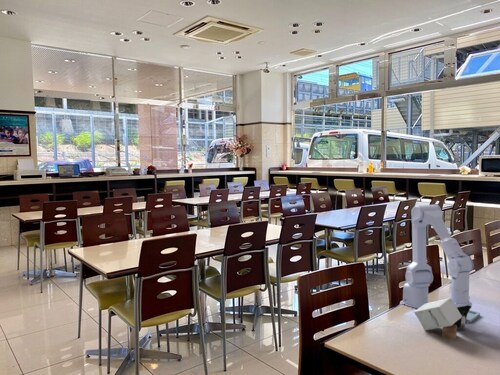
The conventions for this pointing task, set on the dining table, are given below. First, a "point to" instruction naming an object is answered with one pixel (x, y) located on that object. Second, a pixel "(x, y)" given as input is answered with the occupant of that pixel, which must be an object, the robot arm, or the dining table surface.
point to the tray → (472, 316)
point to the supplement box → (438, 314)
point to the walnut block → (449, 332)
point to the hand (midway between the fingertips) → (458, 324)
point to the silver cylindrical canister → (462, 324)
